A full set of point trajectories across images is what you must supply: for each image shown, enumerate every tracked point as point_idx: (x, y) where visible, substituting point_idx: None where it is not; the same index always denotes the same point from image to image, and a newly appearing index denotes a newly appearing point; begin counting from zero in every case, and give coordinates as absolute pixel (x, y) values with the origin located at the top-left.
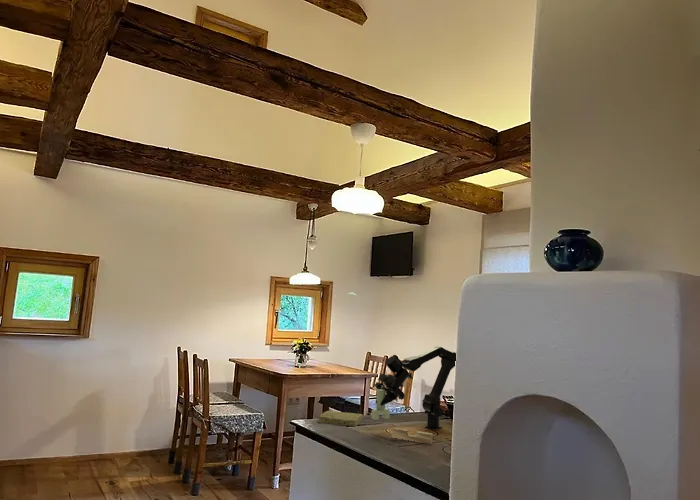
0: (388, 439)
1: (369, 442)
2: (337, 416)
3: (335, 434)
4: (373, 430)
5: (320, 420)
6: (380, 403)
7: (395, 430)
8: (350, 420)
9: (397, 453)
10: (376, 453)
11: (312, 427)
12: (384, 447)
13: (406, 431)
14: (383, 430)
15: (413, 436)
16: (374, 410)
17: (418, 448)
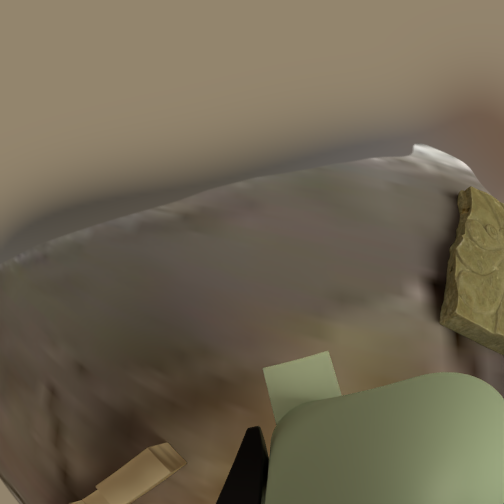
0: (144, 410)
1: (122, 300)
2: (493, 244)
3: (279, 204)
4: None
5: (461, 195)
6: (276, 435)
7: (136, 456)
8: (457, 288)
9: (7, 332)
10: (28, 273)
11: (385, 162)
12: (54, 326)
13: (97, 486)
14: None
15: (90, 498)
16: (286, 368)
17: (24, 435)
